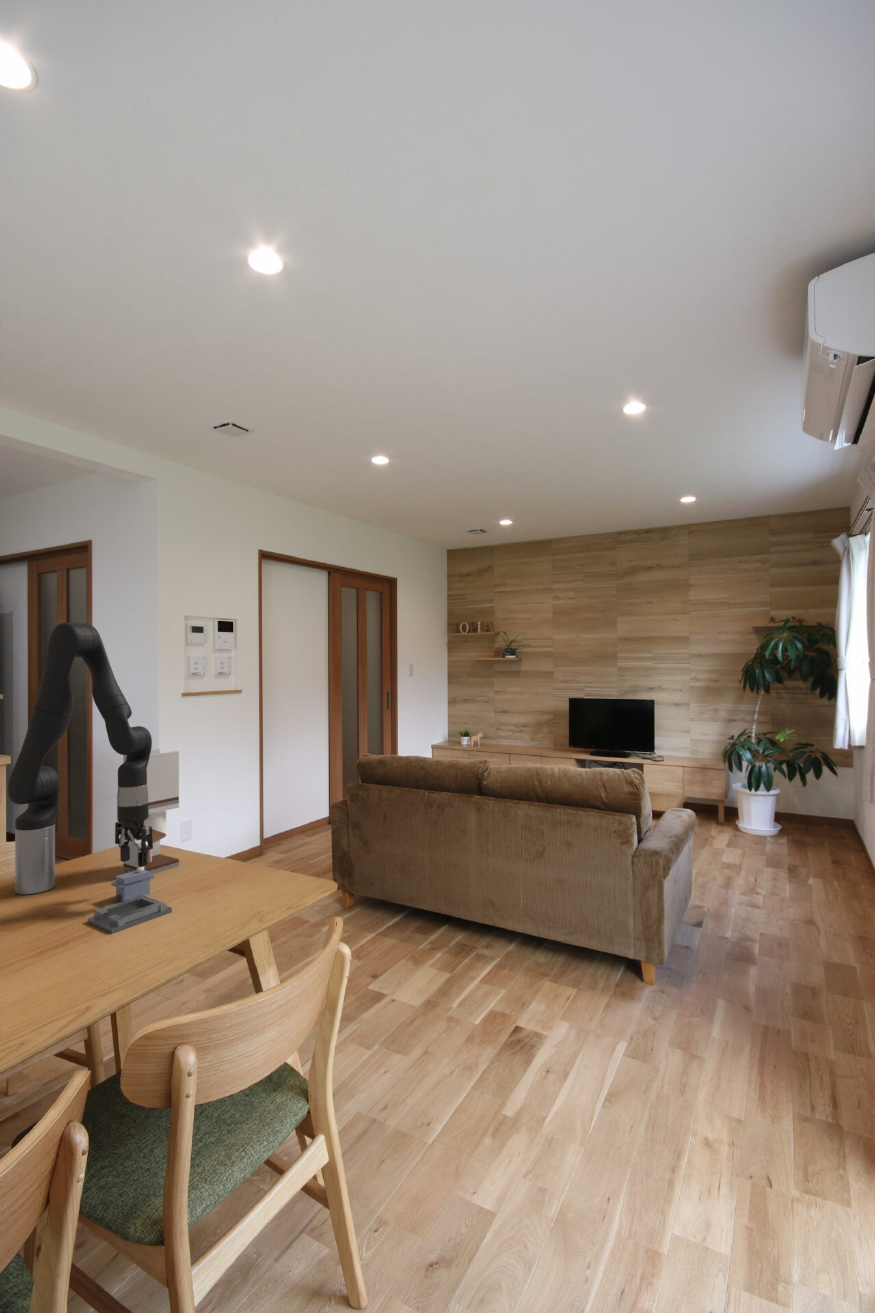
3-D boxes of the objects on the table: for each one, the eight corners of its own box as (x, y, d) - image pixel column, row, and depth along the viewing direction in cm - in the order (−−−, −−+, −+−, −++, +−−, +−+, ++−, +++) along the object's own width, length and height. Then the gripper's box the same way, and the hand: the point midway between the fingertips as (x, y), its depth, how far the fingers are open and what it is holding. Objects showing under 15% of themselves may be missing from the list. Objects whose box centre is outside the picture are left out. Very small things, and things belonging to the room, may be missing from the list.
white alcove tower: (144, 876, 183) (143, 756, 183) (123, 870, 188) (123, 753, 189) (179, 865, 192) (178, 751, 193) (158, 860, 198) (158, 749, 198)
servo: (119, 903, 162) (119, 876, 162) (111, 900, 164) (111, 873, 164) (154, 892, 170) (154, 866, 170) (145, 889, 172) (145, 864, 172)
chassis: (111, 933, 144) (111, 922, 144) (87, 922, 150) (87, 912, 150) (171, 912, 156) (171, 901, 156) (147, 902, 162) (147, 893, 162)
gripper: (104, 802, 168) (105, 863, 168) (133, 807, 160) (134, 872, 160) (132, 797, 174) (132, 855, 174) (161, 802, 166) (162, 864, 166)
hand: (133, 863), depth 167 cm, fingers open, 8 cm apart
